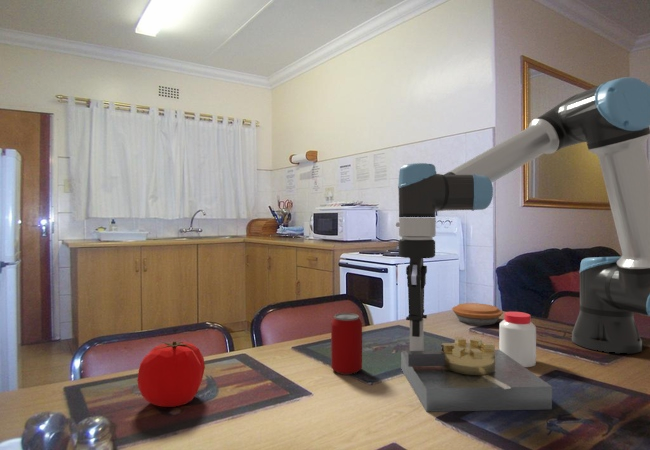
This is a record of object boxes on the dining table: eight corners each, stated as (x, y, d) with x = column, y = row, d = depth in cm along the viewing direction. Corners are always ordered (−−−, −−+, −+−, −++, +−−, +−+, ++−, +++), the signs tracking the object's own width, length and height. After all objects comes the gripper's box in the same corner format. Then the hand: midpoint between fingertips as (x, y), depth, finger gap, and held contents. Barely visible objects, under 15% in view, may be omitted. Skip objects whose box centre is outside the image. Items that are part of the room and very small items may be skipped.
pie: (455, 326, 128) (455, 310, 128) (449, 314, 144) (449, 300, 144) (508, 328, 126) (508, 311, 126) (496, 316, 141) (496, 301, 141)
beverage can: (366, 367, 93) (366, 313, 93) (355, 378, 87) (355, 320, 86) (338, 363, 96) (338, 311, 95) (326, 373, 89) (326, 317, 89)
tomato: (165, 423, 68) (164, 355, 68) (123, 406, 74) (123, 344, 74) (219, 396, 78) (219, 337, 78) (179, 383, 84) (178, 328, 84)
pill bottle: (540, 368, 92) (540, 318, 92) (503, 366, 94) (503, 317, 93) (530, 356, 100) (530, 311, 99) (496, 354, 101) (496, 309, 101)
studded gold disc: (482, 356, 87) (482, 336, 87) (504, 374, 77) (504, 351, 77) (401, 357, 86) (401, 337, 86) (413, 375, 76) (413, 353, 76)
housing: (499, 367, 92) (499, 349, 92) (554, 411, 72) (554, 387, 71) (401, 369, 92) (401, 350, 91) (427, 413, 71) (427, 389, 71)
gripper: (402, 236, 94) (402, 340, 95) (394, 239, 82) (394, 358, 82) (436, 237, 92) (436, 343, 93) (433, 240, 80) (433, 362, 80)
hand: (416, 350), depth 87 cm, fingers closed
